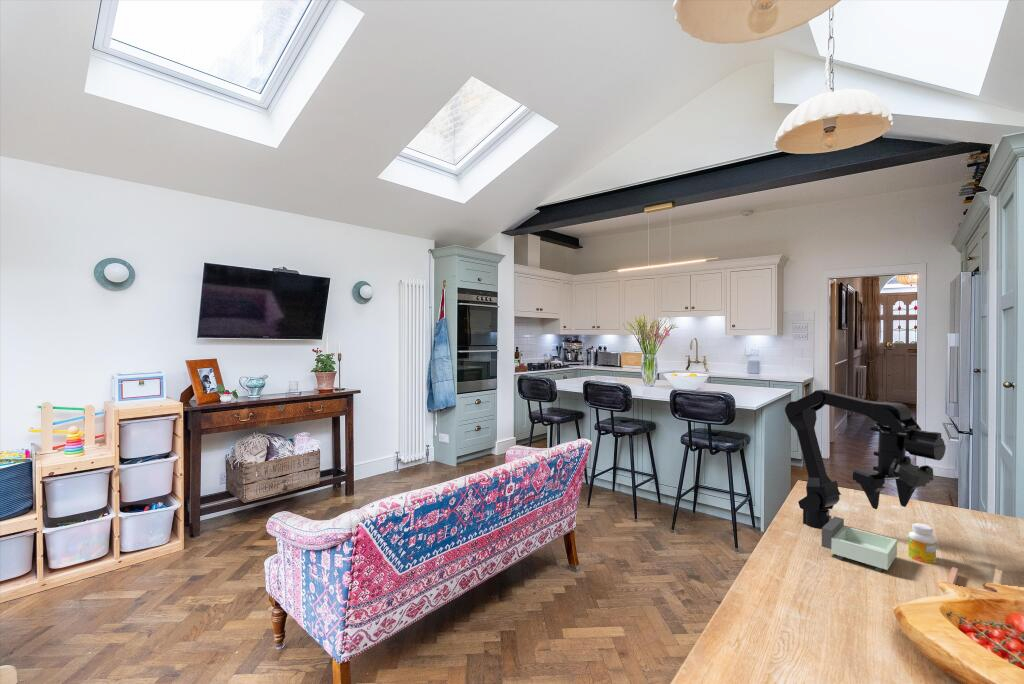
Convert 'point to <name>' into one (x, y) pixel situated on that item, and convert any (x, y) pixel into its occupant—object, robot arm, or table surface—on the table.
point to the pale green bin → (858, 544)
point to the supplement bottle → (922, 544)
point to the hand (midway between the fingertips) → (889, 507)
